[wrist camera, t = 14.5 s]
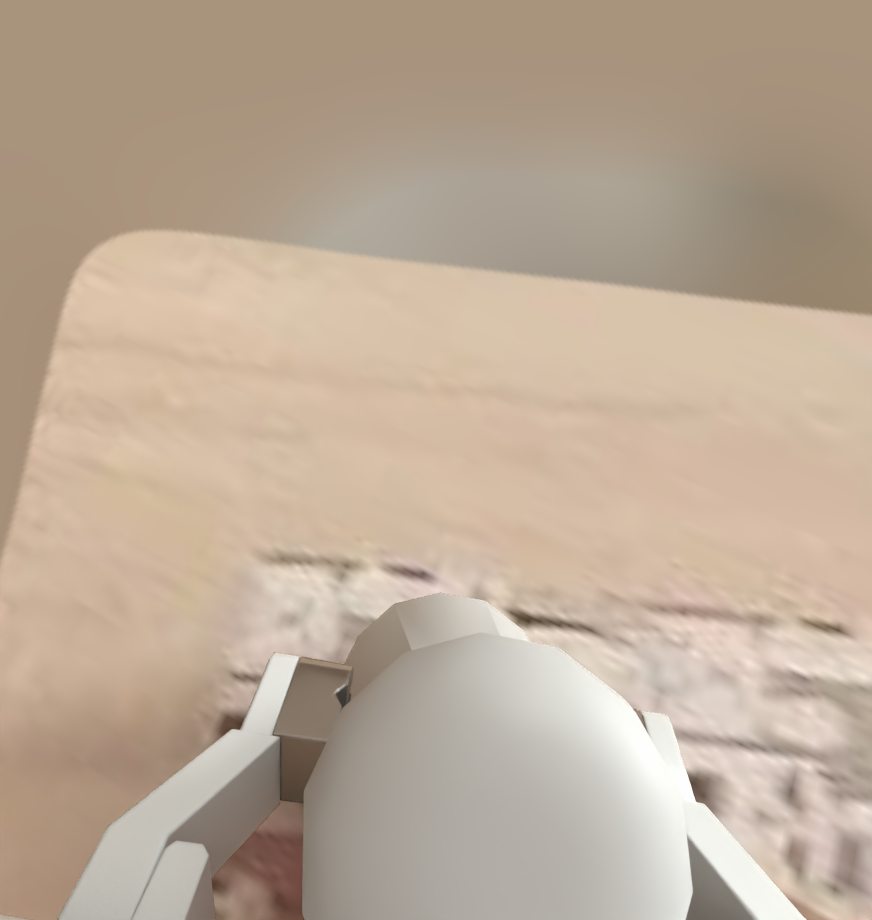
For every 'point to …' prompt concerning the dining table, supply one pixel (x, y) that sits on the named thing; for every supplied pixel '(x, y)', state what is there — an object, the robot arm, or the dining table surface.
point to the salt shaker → (487, 783)
